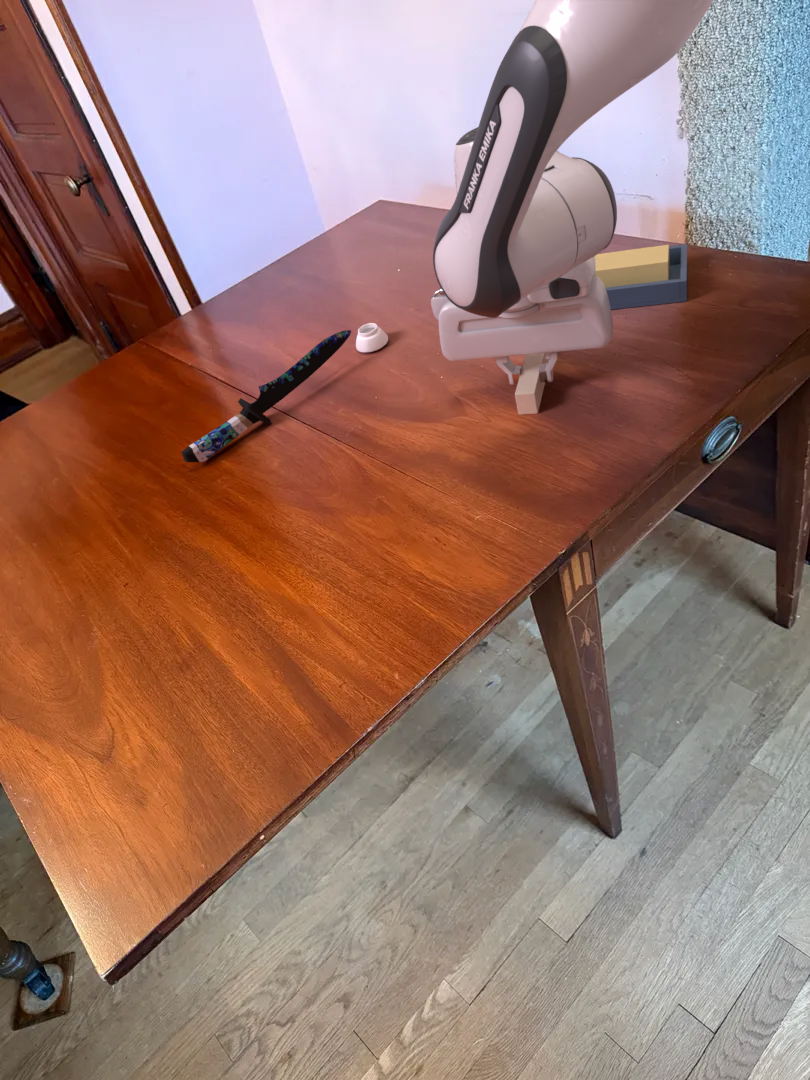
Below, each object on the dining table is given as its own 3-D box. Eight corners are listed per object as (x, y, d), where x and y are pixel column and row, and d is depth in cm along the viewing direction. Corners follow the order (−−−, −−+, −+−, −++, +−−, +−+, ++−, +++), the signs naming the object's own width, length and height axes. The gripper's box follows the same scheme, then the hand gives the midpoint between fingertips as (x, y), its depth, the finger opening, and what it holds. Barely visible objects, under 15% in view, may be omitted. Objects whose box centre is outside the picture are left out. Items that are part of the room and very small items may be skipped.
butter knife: (538, 413, 90) (534, 393, 88) (518, 414, 91) (514, 394, 89) (561, 315, 105) (558, 295, 103) (544, 317, 106) (541, 297, 104)
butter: (669, 271, 105) (669, 244, 102) (668, 289, 102) (668, 261, 99) (589, 281, 109) (587, 255, 106) (586, 298, 106) (583, 272, 103)
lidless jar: (365, 358, 111) (394, 343, 112) (359, 341, 109) (389, 326, 110) (352, 347, 115) (380, 333, 116) (346, 330, 113) (374, 316, 114)
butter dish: (687, 263, 106) (687, 243, 104) (686, 301, 99) (686, 280, 97) (576, 277, 112) (574, 258, 110) (568, 314, 105) (565, 294, 103)
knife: (199, 478, 102) (181, 455, 99) (190, 470, 104) (173, 446, 101) (367, 351, 109) (356, 325, 106) (356, 345, 111) (344, 319, 108)
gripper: (420, 301, 85) (447, 401, 95) (604, 279, 78) (613, 389, 87) (433, 275, 90) (457, 373, 99) (608, 251, 82) (617, 359, 91)
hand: (532, 380), depth 93 cm, fingers closed on butter knife, 2 cm apart
